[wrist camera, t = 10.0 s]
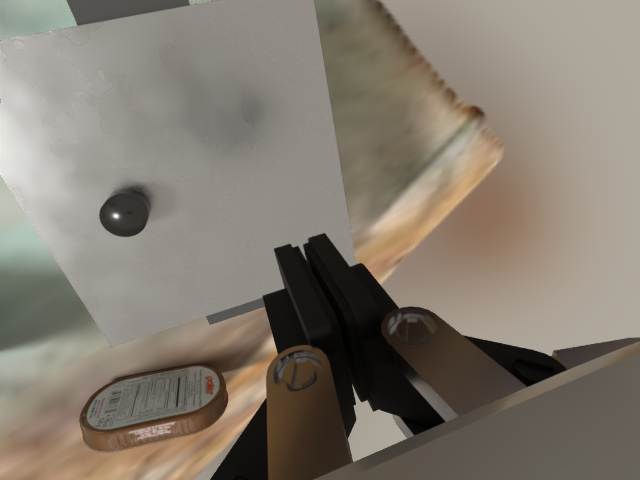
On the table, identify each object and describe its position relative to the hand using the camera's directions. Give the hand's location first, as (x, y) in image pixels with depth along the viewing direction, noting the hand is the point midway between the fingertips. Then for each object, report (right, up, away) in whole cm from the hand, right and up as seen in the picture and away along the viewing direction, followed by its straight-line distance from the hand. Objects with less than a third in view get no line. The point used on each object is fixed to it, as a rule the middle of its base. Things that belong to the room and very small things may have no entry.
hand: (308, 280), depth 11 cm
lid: (-7, +5, +12) cm, 15 cm away
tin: (-19, -15, +32) cm, 40 cm away
